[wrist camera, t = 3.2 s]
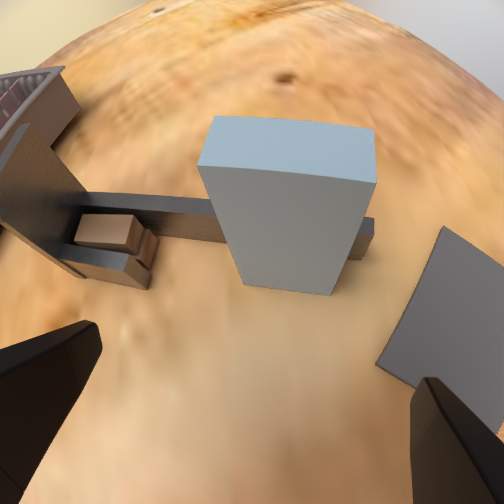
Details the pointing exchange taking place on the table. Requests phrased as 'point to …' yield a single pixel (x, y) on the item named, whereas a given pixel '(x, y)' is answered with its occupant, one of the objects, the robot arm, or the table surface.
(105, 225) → the block
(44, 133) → the organizer tray
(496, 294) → the rubber mat
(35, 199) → the board rack
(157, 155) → the table surface
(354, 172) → the pale blue-grey block
